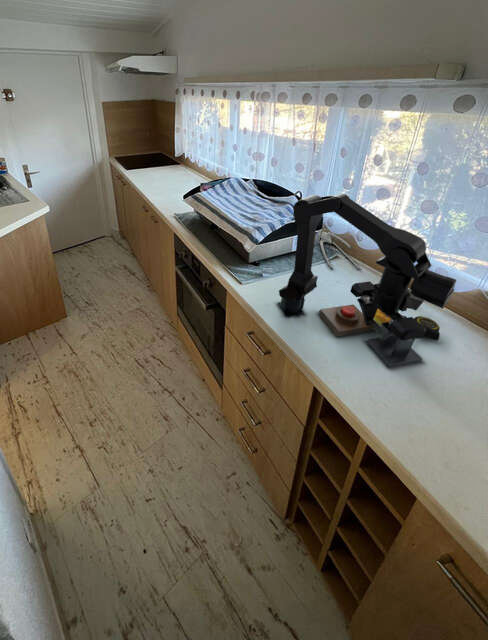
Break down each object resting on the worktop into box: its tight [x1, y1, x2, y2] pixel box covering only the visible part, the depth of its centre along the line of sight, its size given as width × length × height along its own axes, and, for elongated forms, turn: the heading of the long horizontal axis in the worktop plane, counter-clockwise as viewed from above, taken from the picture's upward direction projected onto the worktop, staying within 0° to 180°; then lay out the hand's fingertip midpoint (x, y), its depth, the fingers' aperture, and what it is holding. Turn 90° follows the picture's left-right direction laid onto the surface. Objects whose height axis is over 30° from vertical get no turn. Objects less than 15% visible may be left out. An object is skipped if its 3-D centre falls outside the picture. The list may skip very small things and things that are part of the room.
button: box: [341, 305, 355, 318], centre depth 95 cm, size 4×4×2 cm
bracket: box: [365, 334, 423, 368], centre depth 84 cm, size 10×9×10 cm
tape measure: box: [413, 315, 441, 342], centre depth 92 cm, size 7×7×4 cm
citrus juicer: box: [319, 231, 361, 270], centre depth 135 cm, size 11×10×30 cm
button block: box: [318, 304, 375, 337], centre depth 96 cm, size 12×10×4 cm
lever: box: [368, 318, 381, 334], centre depth 81 cm, size 11×5×2 cm, turn 101°
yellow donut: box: [374, 309, 391, 325], centre depth 92 cm, size 10×11×4 cm
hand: (375, 332), depth 81 cm, fingers closed on lever, 5 cm apart
